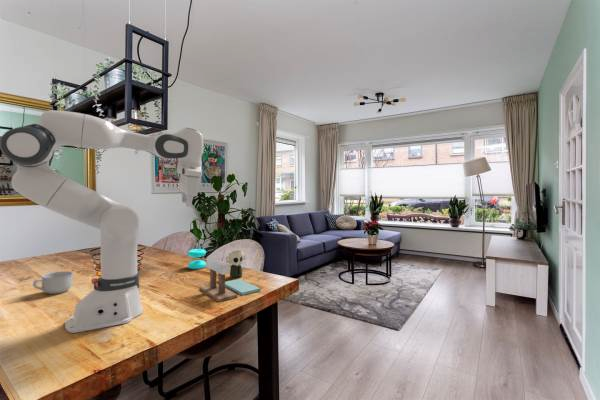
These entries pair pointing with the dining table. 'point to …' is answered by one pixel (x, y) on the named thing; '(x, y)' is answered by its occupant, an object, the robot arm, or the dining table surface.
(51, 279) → the teacup
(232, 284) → the board
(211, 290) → the stand
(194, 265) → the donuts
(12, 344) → the dining table surface
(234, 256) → the character mug
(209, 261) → the rail
